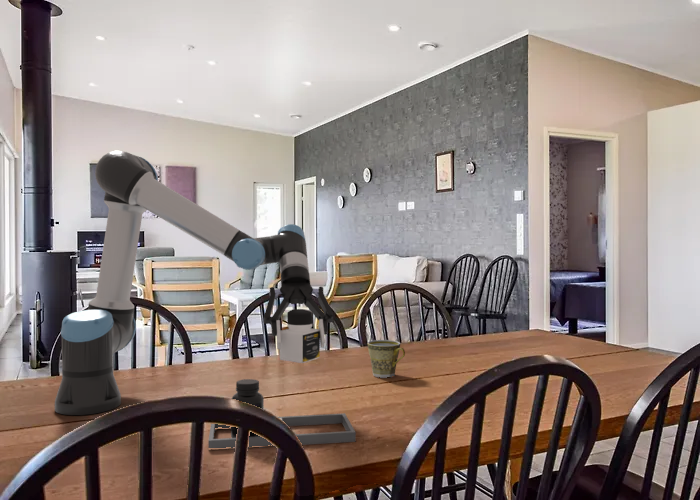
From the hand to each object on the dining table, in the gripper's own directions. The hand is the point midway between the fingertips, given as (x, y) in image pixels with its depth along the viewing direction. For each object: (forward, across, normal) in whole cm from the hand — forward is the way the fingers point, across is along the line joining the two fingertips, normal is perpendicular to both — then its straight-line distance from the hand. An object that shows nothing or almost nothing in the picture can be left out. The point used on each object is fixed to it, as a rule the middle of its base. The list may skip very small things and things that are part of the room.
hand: (301, 345), depth 141 cm
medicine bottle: (+1, 0, -5) cm, 5 cm away
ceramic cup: (-11, -30, -36) cm, 48 cm away
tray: (+21, +6, -3) cm, 22 cm away
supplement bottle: (+21, +13, -3) cm, 25 cm away
